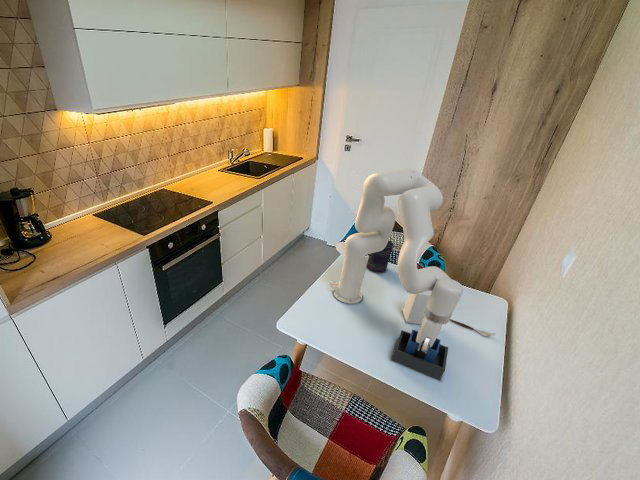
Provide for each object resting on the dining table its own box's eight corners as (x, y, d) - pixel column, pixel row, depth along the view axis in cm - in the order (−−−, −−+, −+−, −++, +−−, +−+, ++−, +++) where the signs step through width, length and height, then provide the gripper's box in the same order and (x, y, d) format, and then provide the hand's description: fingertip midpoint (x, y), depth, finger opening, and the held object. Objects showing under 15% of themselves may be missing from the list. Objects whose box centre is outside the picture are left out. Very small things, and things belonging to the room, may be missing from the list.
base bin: (391, 360, 115) (395, 349, 112) (397, 340, 123) (401, 329, 120) (439, 380, 108) (445, 370, 105) (443, 357, 116) (448, 347, 113)
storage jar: (383, 275, 161) (391, 249, 153) (364, 269, 166) (370, 244, 158) (387, 266, 169) (395, 241, 161) (368, 261, 173) (375, 236, 165)
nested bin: (403, 354, 114) (409, 341, 110) (407, 342, 119) (412, 329, 115) (431, 365, 110) (438, 352, 106) (434, 352, 115) (440, 339, 111)
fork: (449, 318, 134) (450, 314, 133) (494, 336, 125) (496, 332, 124) (447, 321, 132) (449, 318, 131) (493, 340, 124) (495, 336, 123)
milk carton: (424, 325, 130) (440, 287, 120) (406, 322, 132) (420, 285, 121) (419, 314, 136) (434, 277, 126) (402, 311, 137) (415, 275, 127)
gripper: (428, 296, 112) (412, 332, 121) (420, 324, 100) (404, 362, 109) (452, 303, 108) (434, 341, 118) (447, 334, 96) (428, 372, 106)
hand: (420, 351), depth 114 cm, fingers closed on nested bin, 7 cm apart
